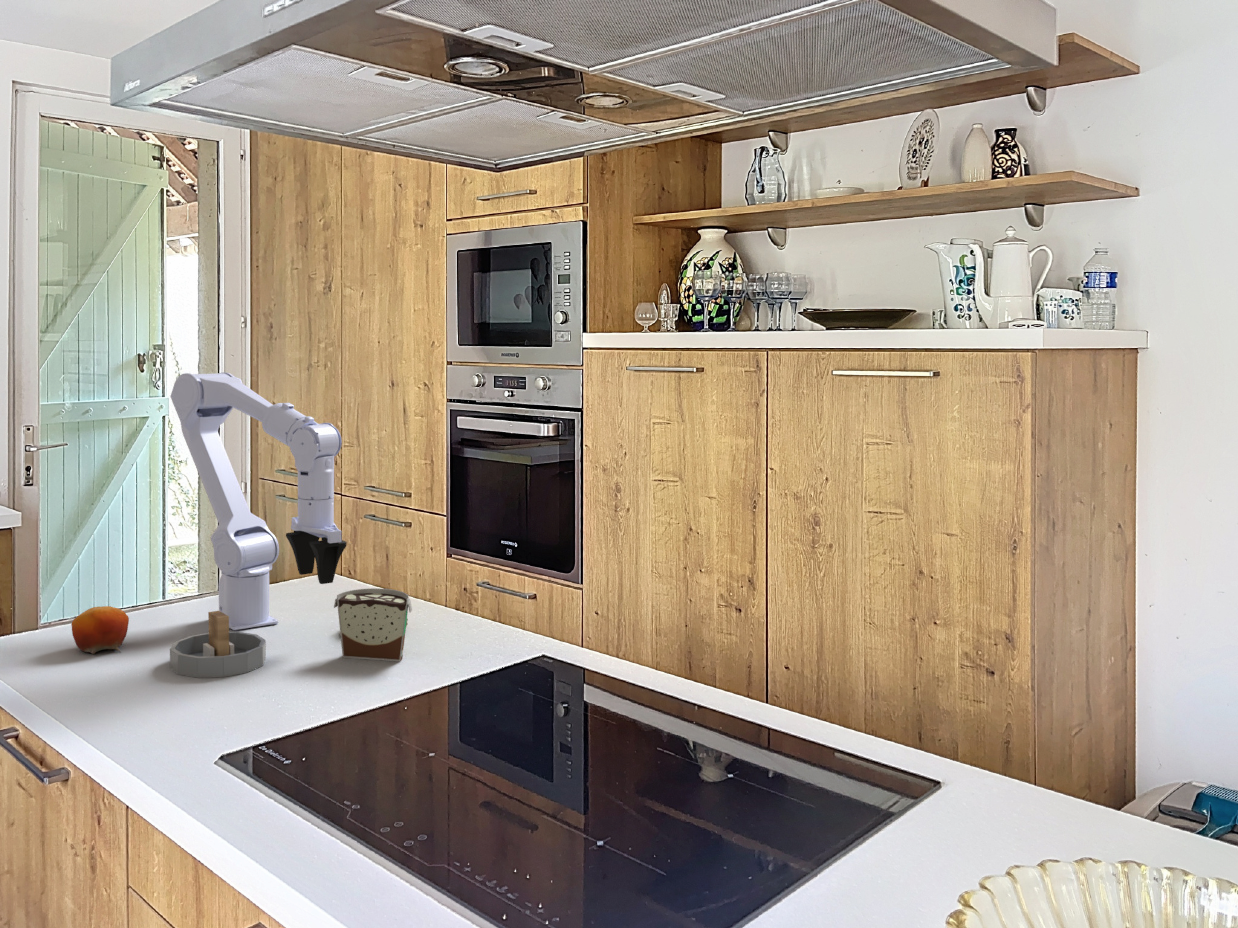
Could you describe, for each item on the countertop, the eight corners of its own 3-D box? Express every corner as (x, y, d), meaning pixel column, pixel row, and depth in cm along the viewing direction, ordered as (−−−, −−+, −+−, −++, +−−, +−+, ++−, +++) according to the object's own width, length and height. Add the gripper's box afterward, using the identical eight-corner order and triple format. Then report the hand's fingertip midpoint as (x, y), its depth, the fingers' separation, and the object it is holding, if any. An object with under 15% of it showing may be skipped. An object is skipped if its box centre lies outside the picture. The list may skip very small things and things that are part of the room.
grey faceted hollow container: (159, 659, 161) (159, 640, 160) (244, 645, 169) (244, 627, 169) (189, 683, 151) (189, 663, 151) (278, 666, 160) (278, 647, 159)
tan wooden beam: (208, 656, 161) (208, 612, 160) (219, 654, 162) (218, 610, 161) (218, 663, 158) (218, 618, 157) (229, 661, 159) (228, 616, 158)
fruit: (84, 653, 158) (75, 603, 160) (72, 668, 163) (64, 619, 166) (140, 644, 163) (131, 596, 165) (127, 659, 169) (118, 611, 171)
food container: (421, 650, 170) (422, 590, 169) (409, 661, 164) (410, 599, 163) (347, 645, 172) (347, 585, 170) (333, 656, 165) (333, 594, 164)
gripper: (274, 493, 176) (274, 572, 177) (312, 505, 165) (312, 590, 166) (314, 490, 180) (313, 567, 182) (353, 502, 169) (353, 584, 171)
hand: (315, 578), depth 174 cm, fingers open, 7 cm apart
